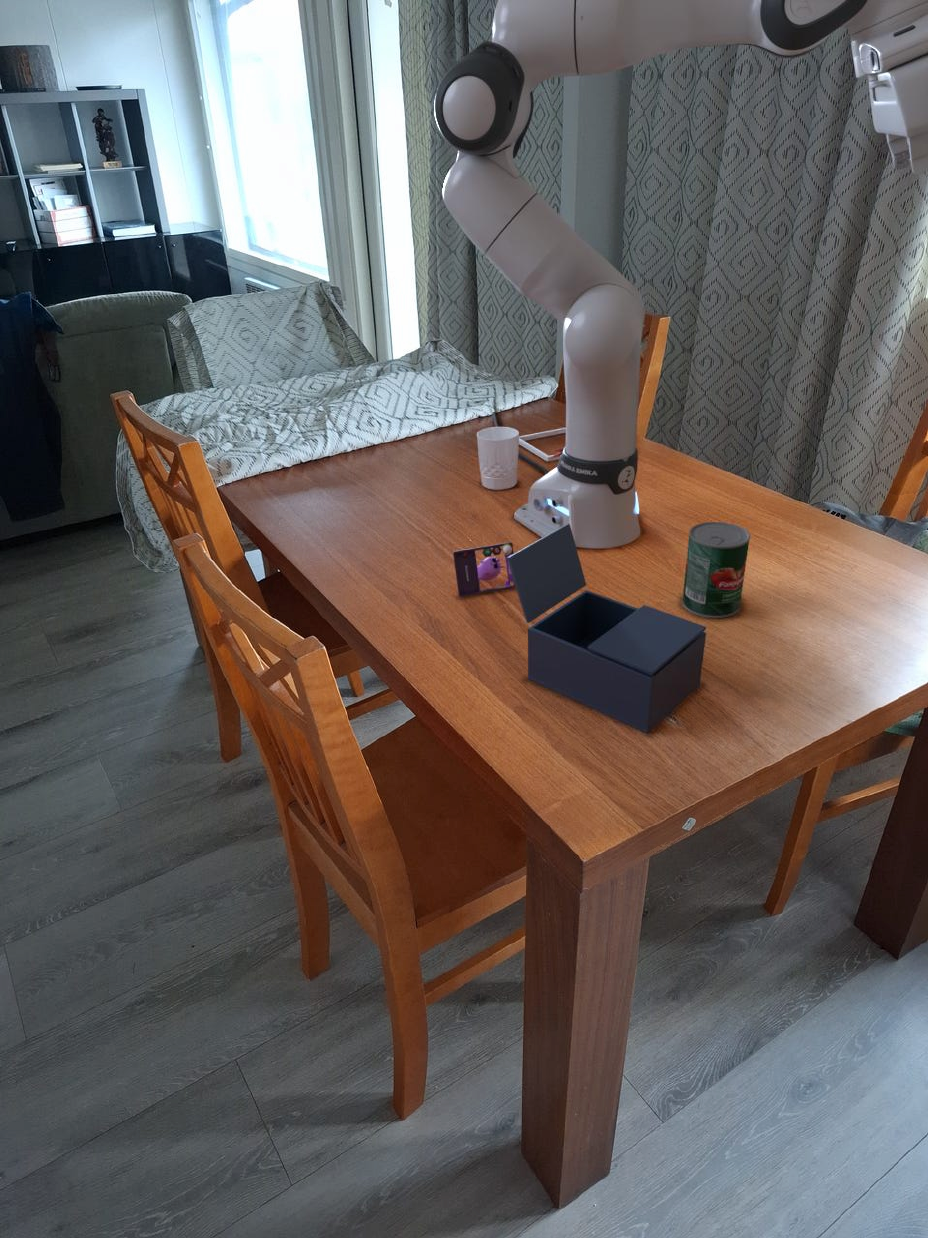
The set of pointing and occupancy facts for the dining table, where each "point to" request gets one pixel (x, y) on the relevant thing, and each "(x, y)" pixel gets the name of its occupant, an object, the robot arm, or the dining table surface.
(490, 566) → the game card
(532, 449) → the photo frame
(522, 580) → the flap
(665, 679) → the carton
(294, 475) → the dining table surface
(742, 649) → the dining table surface
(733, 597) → the canned tomato
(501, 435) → the white cup
